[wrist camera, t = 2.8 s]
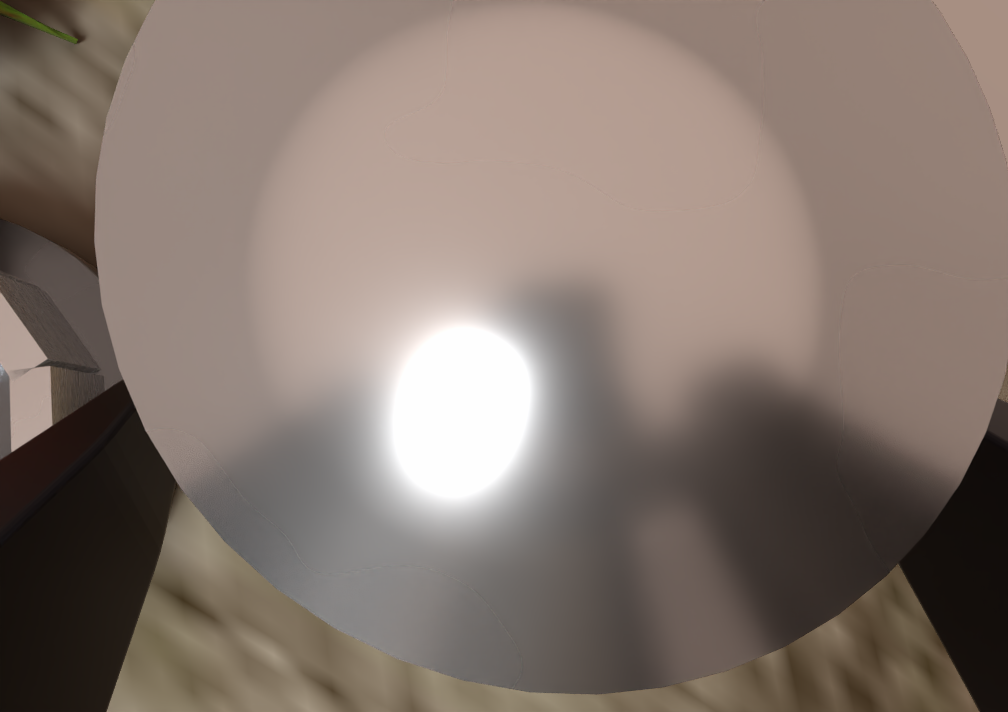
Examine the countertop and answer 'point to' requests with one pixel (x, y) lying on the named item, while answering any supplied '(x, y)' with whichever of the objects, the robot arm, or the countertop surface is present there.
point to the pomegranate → (32, 22)
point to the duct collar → (48, 335)
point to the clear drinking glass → (558, 312)
